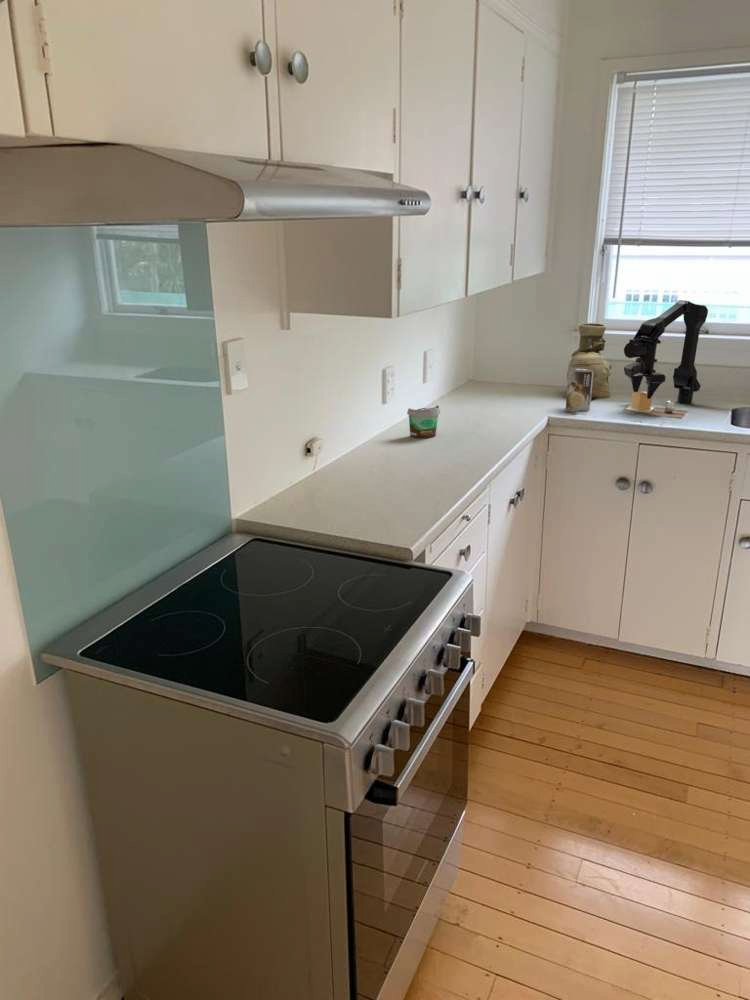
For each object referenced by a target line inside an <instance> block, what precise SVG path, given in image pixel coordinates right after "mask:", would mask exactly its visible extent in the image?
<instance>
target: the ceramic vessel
mask: <svg viewBox="0 0 750 1000" xmlns="http://www.w3.org/2000/svg"><path fill="white" fill-rule="evenodd" d="M606 329H607V325H606V324H602V323H594V322H587V323H586V322H585V323H579V324H578V331H579V345H578V346H579V347H578V349H576V350H575V351H574V352H573V353H572V354H571V357H572V358H571V360H570V361H569V364H568V367H567V374H566V375H567V376H566V377H567V379H566V380H567V381H568V375H569V370H570V369H571V368H577V369H591V370H594V373H593V383H592V393H591V400H596V399H608V398H610V395H611V390H610V383H609V377H610V376H611V375H612V364H611V363H610V362H609V361H608V360H606V359H605V358H604V356H603V354H602V353H601V351H605V343H606V342H607V340H606V339H605V338H603V337H604V334H605V331H606Z"/></svg>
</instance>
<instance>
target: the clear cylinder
mask: <svg viewBox="0 0 750 1000" xmlns="http://www.w3.org/2000/svg"><path fill="white" fill-rule="evenodd" d="M674 406H675V401H674V400H669V399H668V400H666V401H665V405H664V408H665V410H664V413H667V414H672V413H673V409H674Z"/></svg>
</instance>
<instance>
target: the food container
mask: <svg viewBox="0 0 750 1000" xmlns="http://www.w3.org/2000/svg"><path fill="white" fill-rule="evenodd" d="M435 406H436V407H421V408H418V409H413V408H410V407H408V409H407V412H406V415H408V424H409V437H411V438H415V439H422V440H423V439H432V438H435V437H436V435H437V428H438V419H439V415H441V408H440V405H438V404H436V405H435Z"/></svg>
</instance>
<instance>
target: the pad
mask: <svg viewBox="0 0 750 1000" xmlns="http://www.w3.org/2000/svg"><path fill="white" fill-rule="evenodd" d="M629 405H630V404H629ZM629 405H628V406H629ZM655 407H656V406H651V407H650V410H637V409H634V408H632V407H631V405H630V406H629V407H628V408H627V409H626V410H629V411H636V412H644V413H650V412H651V411H653V410H654V409H655Z"/></svg>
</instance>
